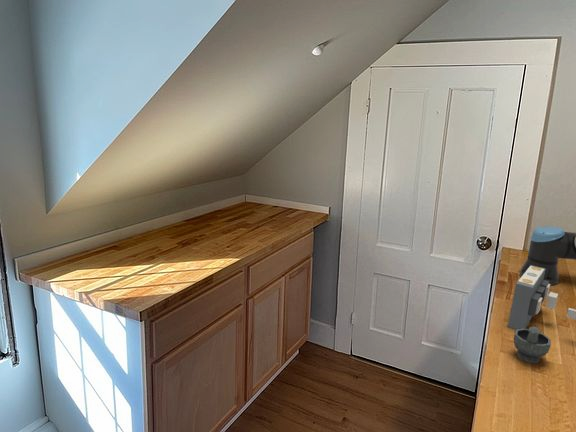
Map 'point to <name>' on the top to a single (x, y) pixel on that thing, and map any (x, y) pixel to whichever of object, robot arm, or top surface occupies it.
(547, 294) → the button
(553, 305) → the button middle
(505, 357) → the top surface
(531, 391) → the top surface
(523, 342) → the mortar and pestle
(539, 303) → the button
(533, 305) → the button panel
